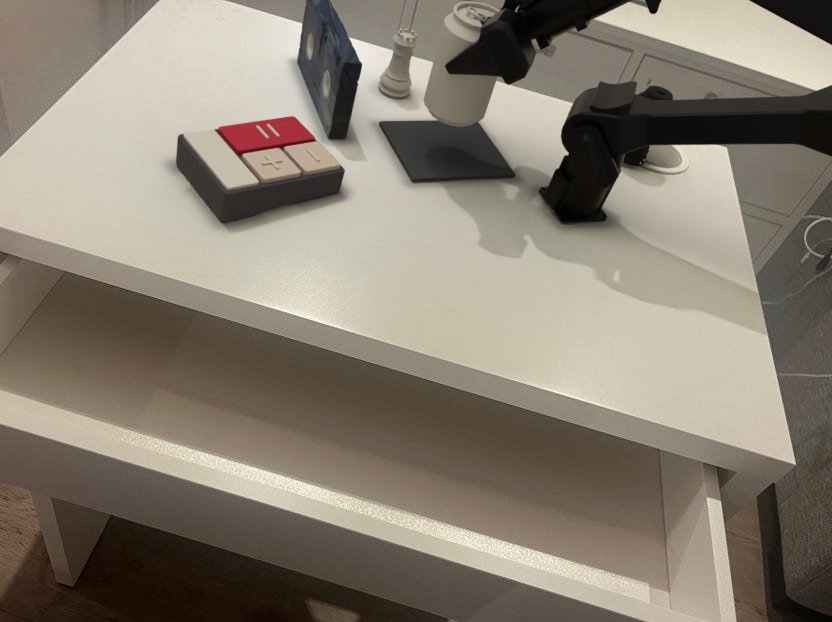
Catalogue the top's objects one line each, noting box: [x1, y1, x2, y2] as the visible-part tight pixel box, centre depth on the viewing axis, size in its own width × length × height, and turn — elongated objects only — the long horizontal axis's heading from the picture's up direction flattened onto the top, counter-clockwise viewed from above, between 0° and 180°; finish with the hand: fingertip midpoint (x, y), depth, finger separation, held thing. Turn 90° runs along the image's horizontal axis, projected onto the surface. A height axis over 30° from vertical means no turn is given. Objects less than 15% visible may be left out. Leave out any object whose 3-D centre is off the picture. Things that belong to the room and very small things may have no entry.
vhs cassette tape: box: [296, 0, 363, 139], centre depth 95 cm, size 18×3×10 cm, turn 13°
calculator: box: [175, 115, 346, 222], centre depth 83 cm, size 11×4×15 cm
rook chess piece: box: [377, 27, 419, 99], centre depth 100 cm, size 4×4×8 cm
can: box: [423, 0, 501, 127], centre depth 86 cm, size 8×8×12 cm
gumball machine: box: [623, 78, 674, 167], centre depth 99 cm, size 7×6×10 cm
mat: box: [378, 119, 517, 183], centre depth 95 cm, size 14×12×1 cm
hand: (457, 55), depth 86 cm, fingers closed on can, 7 cm apart
